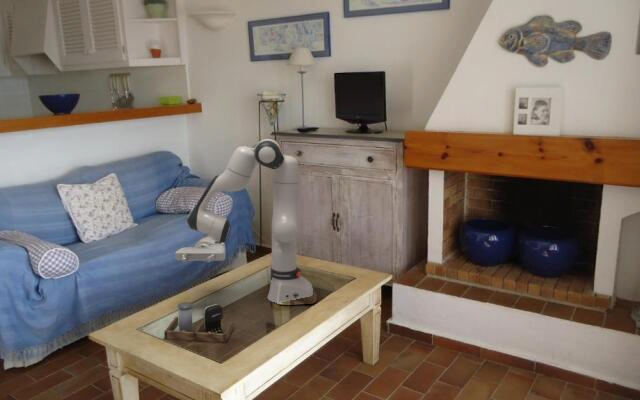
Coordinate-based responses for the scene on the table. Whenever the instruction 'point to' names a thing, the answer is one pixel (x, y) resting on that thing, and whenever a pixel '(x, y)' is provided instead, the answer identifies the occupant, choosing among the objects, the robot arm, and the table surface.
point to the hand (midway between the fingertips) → (195, 260)
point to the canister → (185, 317)
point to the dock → (197, 333)
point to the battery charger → (213, 318)
